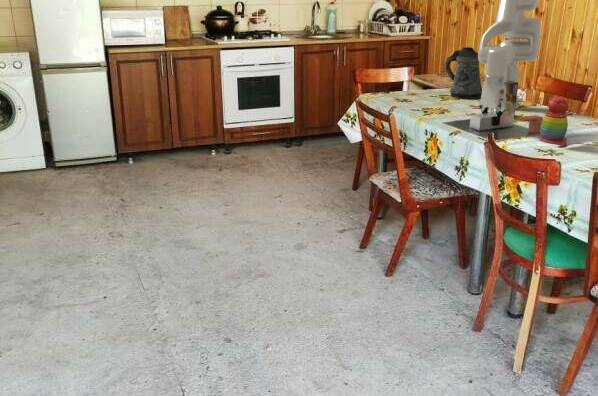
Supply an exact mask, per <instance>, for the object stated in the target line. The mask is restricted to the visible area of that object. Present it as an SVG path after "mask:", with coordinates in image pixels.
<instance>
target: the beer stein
mask: <svg viewBox="0 0 598 396" xmlns="http://www.w3.org/2000/svg"><path fill="white" fill-rule="evenodd" d="M451 62H457V63H456V69H455V73H453V71H452V69H451V67H450V65H451ZM444 69H445V71H446V73H447V76H448V77H449V78H450V79H451V80H452V81H453V82H452V85H451V88H450V91H449V93H450V97H451V96H452V97H451V98H453V97H454V98H453V99H457V98H458V100H478V99H481V95H482V89H483V87H482V84H481V83H482V82H481V76H480V75H481V72H480V71H481V70H480V62H479V60H478V52H477V51H475V50H474V47H469V46H467V47H462V49H459V50H454V52H453V53H452V55H450V56H449V57H447V58H446V59H445V62H444Z"/></svg>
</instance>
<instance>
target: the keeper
mask: <svg viewBox="0 0 598 396" xmlns="http://www.w3.org/2000/svg"><path fill="white" fill-rule="evenodd" d="M515 120H516V121H521V122H526V121H529V122H528V127H527V128H528V131H530V132H533V133H537V132H541V123H542V121H543V116H541V115H537V114H534V115H526V116H519V117H516V118H515Z"/></svg>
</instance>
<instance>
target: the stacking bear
mask: <svg viewBox="0 0 598 396" xmlns="http://www.w3.org/2000/svg"><path fill="white" fill-rule="evenodd" d="M547 107H548V111H547V112H546V113H545V114H544V116H543V117H542V123H541V130H540V132H541V134H540V135H541V137H540V138H539V141H540V142H542V143H546V144H550V145H555V146H557V148H562V149H563V148H567V147H568V143H567V141H568V138H566V137H565V136H566V134H567V131H568V127H569V123H568V115H567V112H568V110H569V109H570V107H571V106H570V104H569V103H568V102H567V101H566V98H564V97H559V95H557V96H554V97H552V98H551V99H550V100H549V102H548V106H547Z"/></svg>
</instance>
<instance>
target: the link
mask: <svg viewBox="0 0 598 396" xmlns="http://www.w3.org/2000/svg"><path fill="white" fill-rule="evenodd" d="M497 112H498V111H497ZM504 113H506V114H502V116H500V124H499V125H498V126H493V125H492V123H493V116H495V115H494V112H489V113H483V114H482V113H478V114H477V113H476V114H470V118H469V119H470V127H471V128H474V129H477V130H485V129H492V128H498V127H506V126H513V124H514V120H515V119H514V118H515V116H514V114H513V113H510V112H506V111H505V112H504Z"/></svg>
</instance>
